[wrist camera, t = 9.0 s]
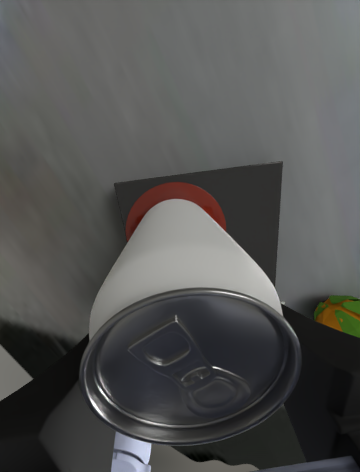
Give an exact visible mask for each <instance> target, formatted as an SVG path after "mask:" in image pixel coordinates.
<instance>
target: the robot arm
mask: <svg viewBox="0 0 360 472" xmlns="http://www.w3.org/2000/svg"><path fill="white" fill-rule="evenodd" d="M280 304H281V303H280ZM281 308H282V313H283V317H284V318H285V319H286V320H287V322H288V323H289V324H290V325H291V327H292V328H293V330H294V332H295V334H296V336H297V338H298V340H299V343H300V347H301V353H302V366H301V372H300V376H299V379H298V381H297V384H296V386H295V388H294V390H293V391H292V393H291V394H290V396H289V397H288V399H287V400H286V401H285V402H284V406H285V408H286V411H287V413H288V416H289V418H290V421H291V423H292V426H293V428H294V431H295V433H296V436H297V438H298V441H299V444H300V446H301V449H302V451H303V454H304V457H305V459H306V462H307V463H301V464H295V465H289V466H282V467H276V468H270V469H263V470H257V471H252V472H360V338H359V337H356V336H353V335H350V334H347V333H344V332H342V331H339V330H336V329H334V328H331V327H329V326H326V325H324V324H321V323H319V322H317V321H314V320H312V319H310V318H308V317H306V316H304V315H302V314H300V313H298V312H296V311H294V310H292V309H290V308H288V307H286V306H285V305H283V304H281ZM88 343H89V334H88V335H87V336H86V337H85V338H84V339H83V340H82V341H80V342H79V343H78V344H77V345H76V346H75V347H74V348H73V349H72V350H70V351H69V352H68V353H67V354H66V355H64V356H63V357H62V358H61V359H59V360H58V361H57V362H56V363H54V364H53V365H52V366H51V367H49V368H48V369H47V370H45V371H44V372H43V373H41V374H40V375H39V376H37V377H36V378H34V379H33V380H32V381H30V382H29V383H27V384H26V385H24V386H23V387H21V388H20V389H19V390H17V391H15V392H14V393H12V394H11V395H9V396H8V397H6V398H4V399H3V400H1V401H0V472H150V471H151V466H150V465H148V462H149V458H150V452H151V443H147V442H143V441H139V440H136V439H132V438H130V437H127V436H125V435H123V434H120V433H118V432H117V431H115V430H113V429H111V428H110V427H108V426H107V425H106V424H104V423H103V422H102V421H101V420H99V419H98V418H97V417H96V416H95V415H94V413H93V412H92V411H91V410H90V408H89V407H88V405H87V404H86V402H85V400H84V397H83V395H82V392H81V388H80V382H79V370H80V364H81V360H82V356H83V354H84V351H85V349H86V347H87V345H88Z"/></svg>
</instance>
